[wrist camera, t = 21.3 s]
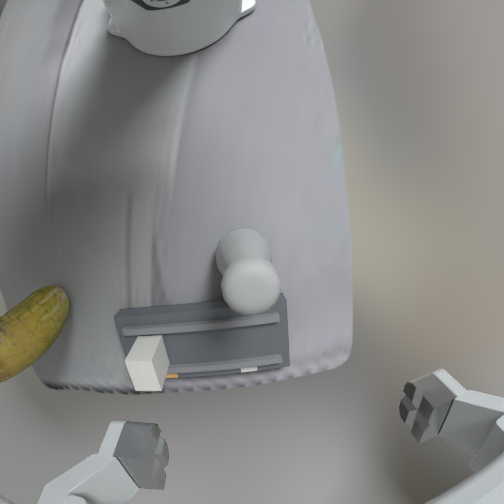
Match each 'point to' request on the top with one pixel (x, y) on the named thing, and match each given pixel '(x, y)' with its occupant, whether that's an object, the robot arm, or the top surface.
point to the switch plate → (211, 337)
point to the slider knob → (148, 363)
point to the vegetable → (31, 329)
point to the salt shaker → (247, 272)
